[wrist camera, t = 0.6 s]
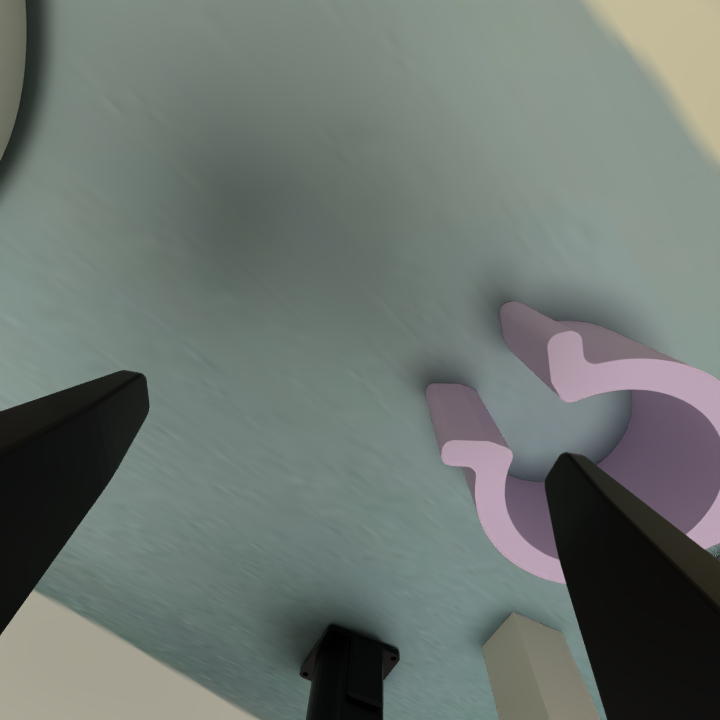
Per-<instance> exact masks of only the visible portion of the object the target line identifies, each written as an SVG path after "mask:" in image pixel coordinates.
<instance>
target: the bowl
mask: <svg viewBox="0 0 720 720" xmlns="http://www.w3.org/2000/svg"><path fill="white" fill-rule="evenodd" d="M25 60H26V2H25V0H0V160H1V158H2V156H3V154H4V151H5V149H6V147H7V144H8V142H9V139H10V136H11V133H12V130H13V127H14V124H15V120H16V116H17V112H18V108H19V104H20V98H21V93H22V87H23V79H24V71H25Z"/></svg>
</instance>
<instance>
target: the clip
mask: <svg viewBox="0 0 720 720" xmlns="http://www.w3.org/2000/svg"><path fill="white" fill-rule="evenodd" d="M500 319H501V326H502V332H503V338H504V340H505V342H506V344H507V345H508V347H509V349H510V350H511V352H513V353H514V354H515V355H516V356H517V357H518V358H519V359H520V360H521V361H522V362H523V363H524V364H525V365H526V366H527V367H528V368H529V369H530V370H531V371H533V372H534V373H535V374H536V375H537V376H538V377H539V378H540V379H541V380H542V381H543V382H544V383H545V384H546V385H547V386H548V387H549V388H550V389H552V390H553V391H554V392H555V393H556V394H557V395H558V396H559V397H560V398H561V399H562V400H563V401H565V402H576V401H578V400H581V399H584V398H586V397H589V396H593V395H596V394H600V393H604V392H610V391H617V390H630V391H631V397H632V411H631V417H630V421H629V424H628V427H627V429H626V431H625V434H624V435H623V437H622V439H621V440H620V442H619V443H618V445H617V446H616V447H615V449H614V450H613V451H612V452H611V453H610V454H609V455H608V456H607V457H606V458H605V459H603V460H602V461H601V462H600V463H598V464H597V466H598V467H599V468H601V469H602V470H603V471H604V472H606V473H607V474H608V475H610V476H611V477H612V478H613V479H615V480H616V481H617V482H619V483H620V484H621V485H622V486H624V487H625V488H626V489H628V490H629V491H630V492H631V493H633V494H634V495H635V496H637V497H638V498H639V499H640V500H642V501H643V502H644V503H646V504H647V505H648V506H649V507H651V508H652V509H653V510H655V511H656V512H657V513H658V514H660V515H661V516H662V517H664V518H665V519H666V520H667V521H669V522H670V523H671V524H673V525H674V526H675V527H676V528H678V529H679V530H680V531H682V532H683V533H684V534H685V535H687V536H688V537H689V538H691V539H692V540H693V541H695V542H696V543H697V544H698V545H700V546H701V547H702V548H704V549H707V548H709V547H711V546H713V545H716V544H719V543H720V381H719V380H718V379H716V378H714V377H713V376H711V375H709V374H707V373H705V372H703V371H701V370H699V369H697V368H694V367H692V366H690V365H688V364H685V363H683V362H681V361H679V360H676V359H674V358H672V357H670V356H667V355H665V354H663V353H661V352H658V351H656V350H654V349H652V348H649V347H647V346H645V345H643V344H641V343H638V342H636V341H634V340H632V339H629V338H627V337H625V336H623V335H620V334H618V333H616V332H614V331H611V330H609V329H607V328H604V327H601V326H598V325H595V324H591V323H585V322H578V321H554V320H552V319H551V318H549V317H547V316H545V315H543V314H541V313H539V312H538V311H536V310H534V309H532V308H530V307H528V306H526V305H524V304H523V303H521V302H518V301H512V302H508V303H505V304H504V305H503V306H502V307H501V309H500ZM425 396H426V401H427V404H428V408H429V412H430V416H431V420H432V424H433V427H434V431H435V435H436V439H437V443H438V446H439V450H440V454H441V458H442V460H443V462H444V463H445V464H447V465H449V466H462V469H463V472H464V475H465V478H466V481H467V483H468V486H469V489H470V492H471V495H472V498H473V501H474V504H475V507H476V510H477V513H478V516H479V519H480V522H481V524H482V527H483V529H484V531H485V532H486V534H487V536H488V537H489V539H490V540H491V542H492V543H493V544H494V546H495V547H496V548H497V549H498V550H499V551H500V552H501V553H502V554H503V555H504V556H505V557H506V558H507V559H509V560H510V561H511V562H513V563H514V564H515V565H517V566H519V567H520V568H522V569H524V570H525V571H527V572H529V573H531V574H534V575H536V576H539V577H541V578H544V579H547V580H550V581H554V582H558V583H563V584H566V581H565V578H564V575H563V572H562V568H561V565H560V561H559V557H558V553H557V549H556V544H555V539H554V534H553V529H552V524H551V519H550V513H549V508H548V503H547V498H546V493H545V482H533V481H526V480H521V479H518V478H515V477H512V476H510V475H507V472H508V469H509V466H510V464H511V461H512V458H513V454H512V452H511V450H510V448H509V446H508V445H507V443H506V441H505V440H504V438H503V436H502V434H501V433H500V431H499V429H498V428H497V426H496V424H495V422H494V421H493V419H492V417H491V416H490V414H489V412H488V410H487V409H486V407H485V405H484V404H483V402H482V400H481V398H480V397H479V395H478V393H477V392H476V390H474V389H472V388H470V387H467V386H464V385H461V384H442V383H433V384H430V385H429V386H428V387H427V389H426V395H425Z"/></svg>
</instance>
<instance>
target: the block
mask: <svg viewBox="0 0 720 720" xmlns="http://www.w3.org/2000/svg"><path fill="white" fill-rule="evenodd" d="M482 650H483V654H484V658H485V662H486V667H487V671H488V675H489V679H490V683H491V687H492V692H493V696H494V700H495V704H496V708H497V713H498V717H499V720H601V719H600V717H599V714H598V712H597V710H596V708H595V706H594V703H593V701H592V699H591V697H590V694H589V692H588V690H587V688H586V685H585V683H584V681H583V679H582V676H581V674H580V672H579V670H578V667H577V665H576V663H575V661H574V658H573V656H572V654H571V652H570V649H569V647H568V645H567V643H566V640H565V638H564V636H563V634H562V633H561V632H559V631H557V630H554V629H552V628H550V627H547V626H545V625H543V624H540V623H538V622H536V621H533V620H531V619H529V618H526V617H524V616H522V615H519V614H517V613H515V612H513V613H512V614H511V615H510V616H509V617H508V618H507V619H506V620H505V622H504V623H503V624H502V625H501V626H500V627H499V628H498V629H497V630H496V632H495V633H494V634H493V635H492V636H491V637H490V638H489V639H488V641H487V642H486V643H485V644H484V645H483V646H482Z"/></svg>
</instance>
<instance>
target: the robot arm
mask: <svg viewBox="0 0 720 720" xmlns="http://www.w3.org/2000/svg"><path fill="white" fill-rule="evenodd" d="M148 412H149V396H148V388H147V380H146V377H145V376H144V375H143V374H142V373H138V372H133V371H127V370H122V371H118V372H115V373H112V374H109V375H106V376H104V377H101V378H98V379H95V380H92V381H89V382H86V383H83V384H80V385H77V386H74V387H71V388H68V389H65V390H62V391H59V392H56V393H53V394H51V395H48V396H45V397H42V398H39V399H36V400H33V401H30V402H27V403H24V404H21V405H18V406H15V407H12V408H9V409H6V410H3V411H0V635H1V634H2V632H3V631H4V629H5V628H6V626H7V625H8V624H9V622H10V621H11V619H12V618H13V617H14V615H15V614H16V612H17V611H18V610H19V608H20V607H21V606H22V604H23V603H24V601H25V600H26V598H27V597H28V596H29V594H30V593H31V592H32V590H33V589H34V587H35V586H36V584H37V583H38V582H39V580H40V579H41V577H42V576H43V575H44V573H45V572H46V570H47V569H48V568H49V566H50V565H51V563H52V562H53V561H54V559H55V558H56V556H57V555H58V554H59V552H60V551H61V549H62V548H63V547H64V545H65V544H66V542H67V541H68V540H69V538H70V537H71V535H72V534H73V532H74V531H75V530H76V528H77V527H78V525H79V524H80V523H81V521H82V520H83V518H84V517H85V516H86V514H87V513H88V511H89V510H90V509H91V507H92V506H93V504H94V503H95V502H96V500H97V499H98V497H99V496H100V495H101V493H102V492H103V490H104V489H105V487H106V486H107V484H108V483H109V482H110V480H111V479H112V477H113V475H114V474H115V472H116V470H117V469H118V467H119V465H120V463H121V462H122V460H123V458H124V456H125V454H126V453H127V451H128V449H129V447H130V445H131V444H132V442H133V440H134V438H135V437H136V435H137V433H138V431H139V429H140V428H141V426H142V424H143V422H144V420H145V419H146V417H147V415H148ZM545 493H546V498H547V503H548V508H549V513H550V519H551V524H552V529H553V534H554V539H555V544H556V549H557V553H558V557H559V561H560V565H561V568H562V572H563V575H564V578H565V581H566V585H567V588H568V591H569V595H570V598H571V601H572V605H573V608H574V611H575V614H576V618H577V621H578V624H579V628H580V631H581V634H582V638H583V641H584V644H585V648H586V651H587V654H588V657H589V661H590V664H591V667H592V671H593V674H594V677H595V681H596V684H597V687H598V691H599V694H600V697H601V700H602V704H603V707H604V710H605V714H606V717H607V720H720V561H719V560H718V559H716V558H715V557H714V556H713V555H711V554H710V553H709V552H707V551H706V550H705V549H704V548H702V547H701V546H700V545H698V544H697V543H696V542H695V541H693V540H692V539H691V538H689V537H688V536H687V535H685V534H684V533H683V532H682V531H680V530H679V529H678V528H676V527H675V526H674V525H673V524H671V523H670V522H669V521H667V520H666V519H665V518H664V517H662V516H661V515H660V514H658V513H657V512H656V511H655V510H653V509H652V508H651V507H649V506H648V505H647V504H646V503H644V502H643V501H642V500H640V499H639V498H638V497H637V496H635V495H634V494H633V493H631V492H630V491H629V490H628V489H626V488H625V487H624V486H622V485H621V484H620V483H619V482H617V481H616V480H615V479H613V478H612V477H611V476H610V475H608V474H607V473H606V472H604V471H603V470H602V469H601V468H599V467H598V466H597V465H595V464H594V463H593V462H592V461H590V460H589V459H588V458H586V457H585V456H583V455H579V454H574V453H568V452H565V453H562V454H561V455H560V456H559V457H558V459H557V461H556V462H555V464H554V466H553V467H552V469H551V470H550V472H549V474H548V475H547V477H546V480H545ZM399 660H400V654H399V651H397V650H396V649H393V648H391V647H388V646H386V645H383V644H381V643H378V642H376V641H373V640H371V639H368V638H366V637H363V636H361V635H358V634H356V633H353V632H351V631H348V630H346V629H343V628H341V627H338V626H336V625H330V626H328V627H327V629H326V630H325V632H324V633H323V635H322V636H321V638H320V639H319V641H318V642H317V644H316V645H315V647H314V648H313V650H312V651H311V653H310V654H309V656H308V657H307V659H306V660H305V662H304V663H303V665H302V666H301V669H300V676H301V677H303V678H305V679H308V680H310V681H312V683H311V690H310V696H309V703H308V709H307V716H306V720H383V680H384V679H385V678H386V677H387V675H388V674H389V673H390V672H391V670H392V669H393V668H394V666H395V665H396V664H397V663H398V661H399Z"/></svg>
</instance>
